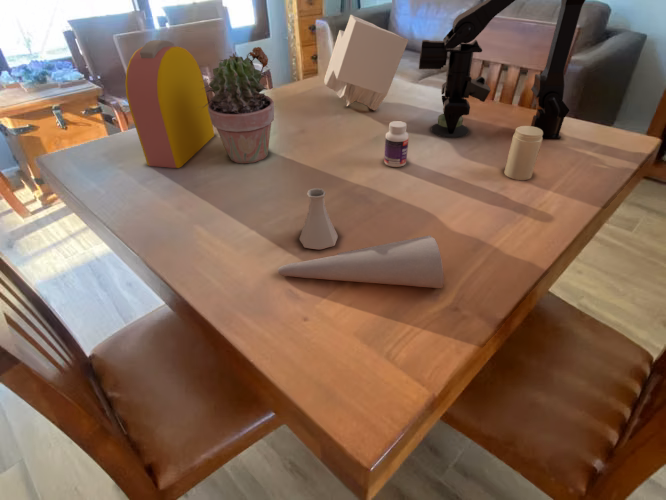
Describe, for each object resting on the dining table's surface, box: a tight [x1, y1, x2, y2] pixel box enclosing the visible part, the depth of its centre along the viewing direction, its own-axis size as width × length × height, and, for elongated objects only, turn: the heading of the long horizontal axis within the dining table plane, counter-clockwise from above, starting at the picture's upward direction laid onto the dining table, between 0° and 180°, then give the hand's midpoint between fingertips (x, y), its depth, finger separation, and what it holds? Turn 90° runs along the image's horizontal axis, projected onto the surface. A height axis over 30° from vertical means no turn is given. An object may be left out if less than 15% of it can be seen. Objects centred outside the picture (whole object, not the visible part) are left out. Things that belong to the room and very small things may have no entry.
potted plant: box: [200, 46, 275, 164], centre depth 101 cm, size 18×20×25 cm
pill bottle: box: [383, 120, 410, 168], centre depth 101 cm, size 5×5×10 cm
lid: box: [437, 113, 464, 127], centre depth 117 cm, size 7×7×2 cm
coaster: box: [431, 123, 469, 139], centre depth 119 cm, size 10×10×1 cm
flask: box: [299, 187, 339, 250], centre depth 77 cm, size 7×7×10 cm
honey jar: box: [503, 125, 544, 181], centre depth 95 cm, size 6×6×10 cm
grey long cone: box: [277, 235, 445, 289], centre depth 68 cm, size 8×9×26 cm
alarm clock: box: [124, 39, 215, 169], centre depth 105 cm, size 21×9×26 cm, turn 168°
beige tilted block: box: [323, 14, 409, 112], centre depth 130 cm, size 20×16×25 cm
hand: (450, 128), depth 119 cm, fingers closed on lid, 6 cm apart
